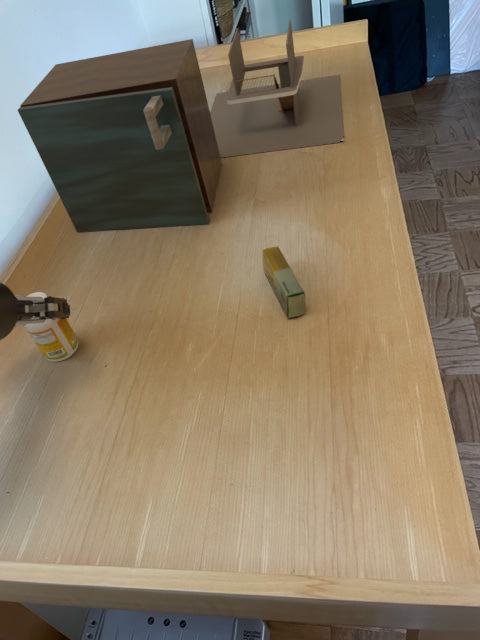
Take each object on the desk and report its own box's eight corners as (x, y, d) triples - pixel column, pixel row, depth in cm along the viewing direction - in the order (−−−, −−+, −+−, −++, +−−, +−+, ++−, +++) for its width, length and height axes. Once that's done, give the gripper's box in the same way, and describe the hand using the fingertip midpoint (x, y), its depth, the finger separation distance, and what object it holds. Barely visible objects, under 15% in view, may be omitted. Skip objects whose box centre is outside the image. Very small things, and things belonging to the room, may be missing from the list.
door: (202, 242, 92) (161, 105, 75) (66, 249, 99) (1, 124, 82) (209, 221, 96) (172, 86, 80) (79, 229, 103) (19, 107, 86)
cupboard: (212, 213, 98) (175, 78, 81) (79, 229, 103) (19, 105, 86) (222, 164, 111) (192, 38, 94) (103, 180, 116) (55, 64, 99)
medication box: (306, 315, 75) (306, 293, 72) (288, 319, 74) (287, 298, 72) (278, 265, 83) (277, 244, 81) (262, 269, 83) (260, 248, 80)
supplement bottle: (65, 331, 82) (37, 283, 76) (86, 343, 79) (59, 295, 73) (37, 354, 80) (5, 307, 73) (58, 368, 77) (27, 320, 70)
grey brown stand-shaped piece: (339, 74, 132) (335, -3, 120) (344, 141, 107) (339, 53, 96) (216, 93, 138) (201, 22, 127) (194, 160, 114) (172, 80, 102)
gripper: (20, 271, 58) (92, 281, 75) (-93, 283, 61) (0, 290, 78) (25, 339, 58) (96, 334, 75) (-89, 348, 61) (4, 342, 78)
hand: (47, 312), depth 76 cm, fingers closed on supplement bottle, 5 cm apart
